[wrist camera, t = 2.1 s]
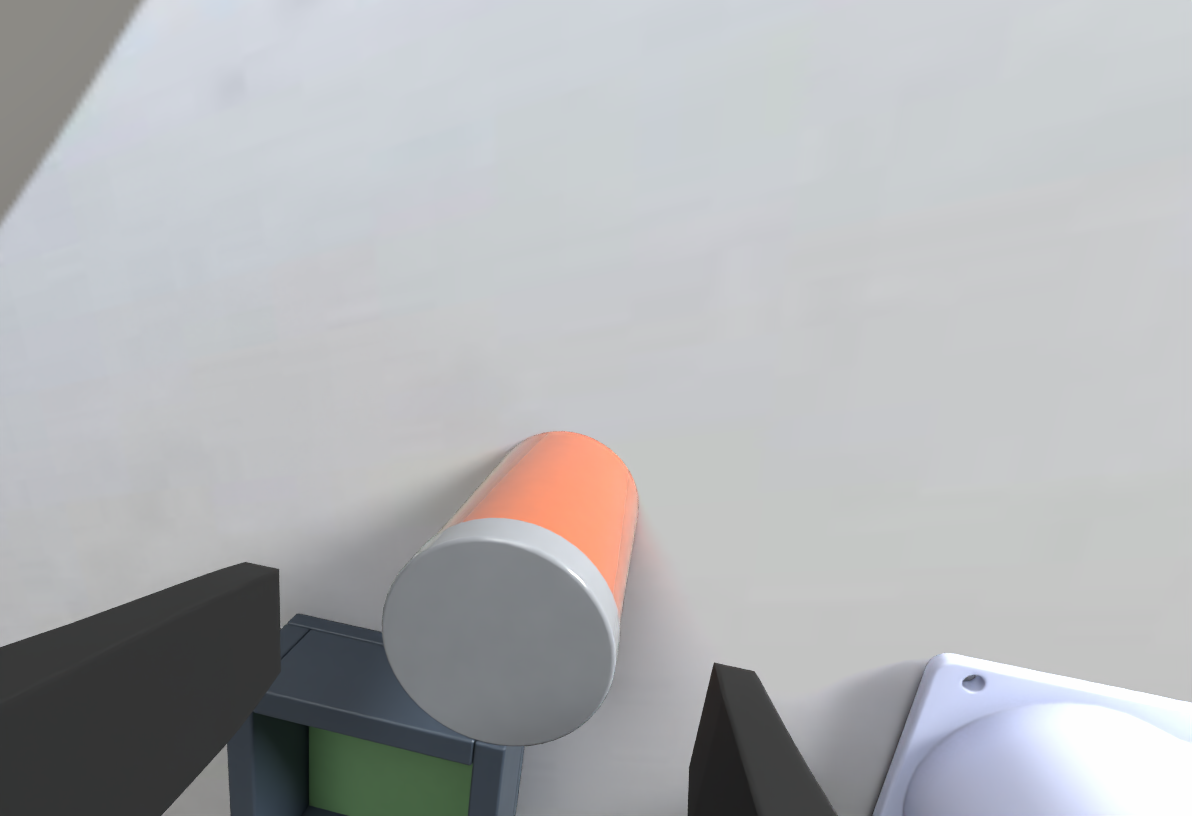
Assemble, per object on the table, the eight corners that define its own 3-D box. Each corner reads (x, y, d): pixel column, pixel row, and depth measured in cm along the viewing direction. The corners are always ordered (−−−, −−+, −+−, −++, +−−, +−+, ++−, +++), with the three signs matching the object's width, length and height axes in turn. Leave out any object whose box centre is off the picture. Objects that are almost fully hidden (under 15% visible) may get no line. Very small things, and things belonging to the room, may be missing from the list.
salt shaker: (652, 443, 14) (634, 566, 9) (627, 582, 16) (597, 772, 10) (497, 416, 15) (383, 515, 9) (484, 553, 16) (375, 718, 10)
